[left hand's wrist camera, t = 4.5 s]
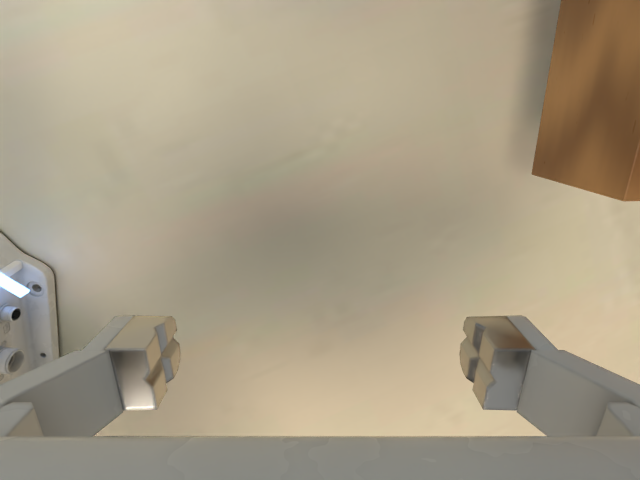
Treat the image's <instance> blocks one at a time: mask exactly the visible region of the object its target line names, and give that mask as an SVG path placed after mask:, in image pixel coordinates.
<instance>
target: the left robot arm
mask: <svg viewBox="0 0 640 480" xmlns="http://www.w3.org/2000/svg"><path fill="white" fill-rule="evenodd" d="M38 285H39V286H40V287H41V288H39V287H38ZM176 331H177V327H176V322H175V319H174V318H173V317H172V316H135V315H129V316H115V317H114V318H113V319H112V320H111V321H110V322H109V323H108V324H107V325H106V326H105V327H104V328H103V329H102V330H101V331H100V332H99V333H98V334H97V335H96V336H95V337H94V338H93V339H92V340H91V341H90V342H89V343H88V344H87V345H86V346H85V347H84V349H83V350H75V351H73V352H71V353H69V354H67V355H64V356H62V357H60V358H59V344H58V328H57V312H56V296H55V280H54V274H53V272H52V270H51V269H50V268H49V267H48V266H47V265H45V264H44V263H42V262H40V261H38V260H36V259H34V258H32V257H30V256H28V255H26V254H24V253H23V252H22V251H20V250H19V249H18V248H17V247H16V246H15V245H14V244H12V243H11V242H10V241H9V240H8V239H7V238H6V237H5V236H4V235H3V234H2V233H0V480H640V385H639V384H637V383H635V382H633V381H630V380H628V379H626V378H624V377H622V376H619V375H617V374H615V373H613V372H611V371H609V370H606V369H604V368H602V367H600V366H598V365H595V364H593V363H591V362H589V361H587V360H584V359H582V358H580V357H578V356H576V355H573V354H571V353H569V352H567V351H565V350H558V349H557V348H556V347H555V346H554V345H553V344H552V343H551V342H550V341H549V340H548V339H547V338H546V337H545V336H544V335H543V334H542V333H541V332H540V331H539V330H538V329H537V328H536V327H535V326H534V325H533V324H532V323H531V322H530V321H529V320H528V319H527V318H526V317H524V316H522V315H515V316H483V317H467V318H466V320H465V322H464V327H463V331H464V332H465V334H466V336H467V338H466V339H465V340H464V341H463V342H462V343H461V346H460V364H461V367H462V370H463V373H464V375H465V377H466V378H467V379H468V380H470V381H471V382H473V383H474V385H473V392H474V394H475V395H476V397H477V399H478V401H479V403H480V405H481V406H482V408H483V409H485V410H517V413H519V414H520V415H521V416H522V417H524V418H525V419H526V420H528V421H529V422H530V423H531V424H533V425H534V426H535V427H536V428H538V429H539V430H540V431H541V432H543V433H544V434H545V435H546V436H94V435H95V434H96V433H98V432H99V431H100V430H101V429H103V428H104V427H105V426H106V425H108V424H109V423H110V422H111V421H113V420H114V419H115V418H116V417H118V416H119V415H120V414H121V413H123V410H154V409H157V408H158V406H159V405H160V403H161V401H162V399H163V397H164V395H165V394H166V392H167V385H166V383H167V382H169V381H170V380H172V379H173V378H174V377H175V375H176V373H177V371H178V367H179V363H180V346H179V343H178V342H177V341H176V340H175V339H174V338H173V336H174V334H175V332H176Z"/></svg>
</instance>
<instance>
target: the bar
mask: <svg viewBox="0 0 640 480" xmlns="http://www.w3.org/2000/svg"><path fill="white" fill-rule="evenodd" d="M532 175H535V176H539V177H542V178H546V179H549V180H553V181H556V182H559V183H563V184H566V185H570V186H573V187H576V188H580V189H583V190H587V191H590V192H594V193H597V194H600V195H604V196H607V197H611V198H614V199H618V200H621V201H640V0H561V5H560V11H559V17H558V22H557V28H556V34H555V40H554V46H553V52H552V58H551V63H550V69H549V75H548V81H547V87H546V93H545V99H544V104H543V110H542V116H541V122H540V128H539V134H538V140H537V145H536V151H535V157H534V163H533V169H532Z"/></svg>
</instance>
